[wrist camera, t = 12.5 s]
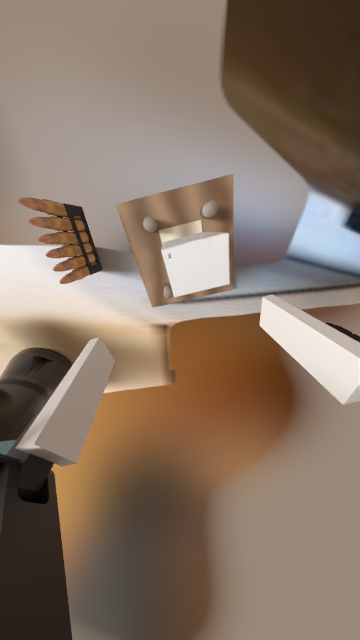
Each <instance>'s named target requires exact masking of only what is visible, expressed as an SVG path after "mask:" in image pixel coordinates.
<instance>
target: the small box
mask: <svg viewBox="0 0 360 640" xmlns="http://www.w3.org/2000/svg"><path fill="white" fill-rule="evenodd" d="M161 252H162V256H163V259H164V263H165V267H166V270H167V274H168V277H169V281H170V285H171V288H172V292H173V295H174V298H176V297H180V296H184V295H188V294H192V293H196V292H200V291H204V290H208V289H212V288H216V287H221V286H225V285H229V284H230V268H229V233H217V232H201V233H196V234H193V235H189V236H185V237H181V238H177V239H174V240H170V241H166V242H163V244H162V249H161Z"/></svg>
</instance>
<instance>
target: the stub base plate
mask: <svg viewBox="0 0 360 640" xmlns="http://www.w3.org/2000/svg"><path fill="white" fill-rule="evenodd" d="M116 207H117V209H118V212H119V215H120V218H121V220H122V223H123V226H124V229H125V232H126V234H127V237H128V240H129V243H130V246H131V248H132V251H133V254H134V257H135V260H136V263H137V265H138V268H139V271H140V274H141V277H142V279H143V282H144V285H145V288H146V291H147V293H148V296H149V299H150V302H151V305H152V307H157V306H161V305H166V304H170V303H174V302H179V301H183V300H187V299H192V298H196V297H201V296H205V295H209V294H214V293H218V292H223V291H227V290H231V289H233V174H231V175H227V176H224V177H220V178H216V179H212V180H209V181H204V182H201V183H197V184H193V185H189V186H185V187H182V188H178V189H174V190H170V191H166V192H162V193H158V194H154V195H151V196H147V197H143V198H139V199H135V200H131V201H128V202H124V203H120V204H116ZM201 232H217V233H229V268H230V284H229V285H225V286H221V287H216V288H212V289H208V290H204V291H200V292H196V293H192V294H188V295H184V296H180V297H176V298H174V295H173V292H172V288H171V285H170V281H169V277H168V274H167V270H166V267H165V263H164V259H163V256H162V252H161V249H162V244H163V242H166V241H170V240H174V239H177V238H181V237H185V236H189V235H193V234H196V233H201Z"/></svg>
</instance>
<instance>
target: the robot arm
mask: <svg viewBox="0 0 360 640" xmlns="http://www.w3.org/2000/svg"><path fill="white" fill-rule="evenodd" d="M260 326H261V327H262V328H263V329H264V330H265V331H266V332H267V333H268V334H269V335H270V336H271V337H272V338H273V339H274V340H275V341H276V342H278V344H279V345H281V346H282V347H283V348H284V349H285V350H286V351H287V352H288V353H289V354H290V355H291V356H292V357H293V358H294V359H295V360H296V361H297V362H298V363H300V364H301V365H302V366H303V367H304V368H305V369H306V370H307V371H308V372H309V373H310V374H311V375H312V376H313V377H314V378H315V379H316V380H317V381H318V382H319V383H321V384H322V385H323V386H324V387H325V388H326V389H327V390H328V391H329V392H330V393H331V394H332V395H333V396H334V397H335V398H336V399H337V400H338V401H340V402H341V403H342V404H348V403H352V402H357V401H360V337H359V336H357V335H356V334H352V332H350V331H348V330H346V329H344V328H342V327H340V326H337V325H334V324H331V323H323V322H321V321H320V320H318V319H316V318H314V317H312V316H310V315H309V314H307V313H305V312H303V311H302V310H300V309H298V308H296V307H294V306H292V305H291V304H289V303H287V302H285V301H283V300H282V299H280V298H278V297H276V296H274V295H269V296H265V297H263V299H262V308H261V318H260ZM114 363H115V359H114V358H113V356H112V355H111V353H110V352H109V350H108V349H107V348H106V346H105V345H104V343H103V342H102V340H101V339H100V338H95V339H91V340H90V341H89V342H88V343H87V345H86V346H85V348H84V349H83V351H82V352H81V354H80V355H79V357H78V358H77V359H76V361H75V362H74V364H73V365H72V364H71V363H70V361H69V360H68V359H66V358H65V357H64V356H62V355H60V354H58V353H56V352H53V351H50V350H47V349H41V348H29V349H25V350H22V351H20V352H19V353H18V354H17V355H15V356H14V357H13V358H12V359H11V360H10V362H9V364H8V365H7V367H6V368H5V370H4V372H3V373H2V375H1V377H0V640H72V633H71V623H70V614H69V605H68V597H67V587H66V577H65V569H64V559H63V550H62V540H61V532H60V523H59V514H58V503H57V494H56V485H55V476H54V473H53V471H51V468H52V466H53V464H54V463H55V464H57V465H60V466H67V465H71V464H76V463H77V461H78V459H79V456H80V454H81V451H82V448H83V446H84V443H85V440H86V438H87V435H88V432H89V430H90V427H91V424H92V422H93V419H94V416H95V414H96V411H97V408H98V406H99V403H100V400H101V398H102V395H103V392H104V390H105V387H106V384H107V382H108V379H109V376H110V374H111V371H112V368H113V366H114Z"/></svg>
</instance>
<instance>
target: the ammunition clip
mask: <svg viewBox="0 0 360 640" xmlns="http://www.w3.org/2000/svg"><path fill="white" fill-rule="evenodd" d="M18 202H19V203H20V204H22V205H24V206H26V207H28V208H30V209H33V210H37V211H40V212H45V213H47V214H49V215H55V216H57V217H34V218H31V219H29V220H28V222H29V223H31V224H32V225H35V226H37V227H41V228H48V229H54V230H58V231H63V232H57V233H53V234H45V235H42V236H40V237H39V238H38V240H39V241H40V242H43V243H47V244H64V245H65V246H62V247H61V248H57V249H53V250H50V251H49V252H47V253H46V256H47V257H50V258H62V257H72V258H69V259H67V260H66V261H63V262H61V263H59V264H57V265H56V266H55V267H54V268H53V270H54V271H66V270H70V269H75V270H73V271H72V272H71V273H69V274H67V275H65V276H64V277H63V278H62V279H61V280H60V283H61V284H67V283H71V282H73V281H76V280H80V279H82V278H84V277H86V276H88V275H92V274H94V273H96V272H99V271H101V270H102V267H101V264H100V261H99V258H98V255H97V252H96V249H95V246H94V243H93V240H92V237H91V234H90V231H89V227H88V224H87V221H86V219H85V216H84V212H83V209H82V207H79V206H74V205H69V204H61V203H58V202H54V201H50V200H45V199H43V200H40V199H34V198H27V197H26V198H20V199H18ZM63 217H67V218H63ZM68 218H69V219H68ZM68 231H74V232H68ZM75 243H79V244H75ZM66 244H68V245H66ZM81 254H83V255H81ZM77 255H80V256H77ZM76 268H77V269H76Z"/></svg>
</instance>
